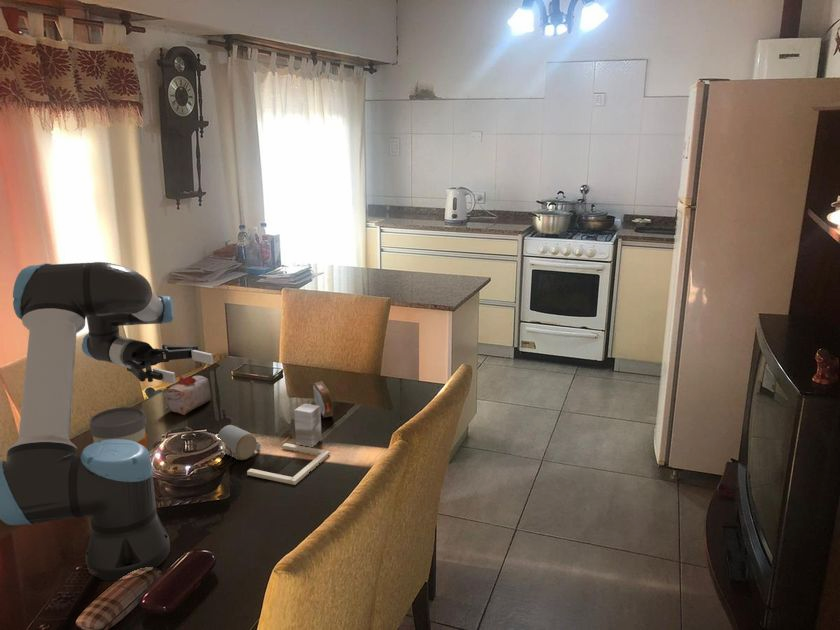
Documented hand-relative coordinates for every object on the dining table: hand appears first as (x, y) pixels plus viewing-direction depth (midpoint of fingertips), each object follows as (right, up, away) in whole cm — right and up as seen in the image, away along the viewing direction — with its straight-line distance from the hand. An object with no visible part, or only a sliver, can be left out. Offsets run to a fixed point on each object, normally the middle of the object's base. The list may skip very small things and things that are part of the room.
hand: (193, 368), depth 172 cm
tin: (+29, -16, +30) cm, 44 cm away
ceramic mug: (+11, -23, +3) cm, 26 cm away
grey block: (+28, -21, +9) cm, 36 cm away
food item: (-13, -15, +33) cm, 39 cm away
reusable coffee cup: (-14, -25, -8) cm, 30 cm away
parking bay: (+25, -24, -3) cm, 35 cm away
